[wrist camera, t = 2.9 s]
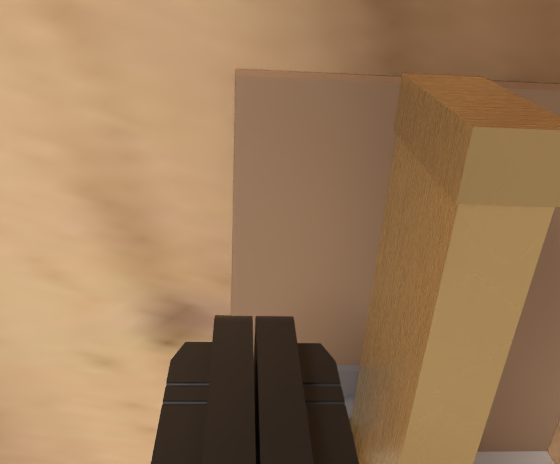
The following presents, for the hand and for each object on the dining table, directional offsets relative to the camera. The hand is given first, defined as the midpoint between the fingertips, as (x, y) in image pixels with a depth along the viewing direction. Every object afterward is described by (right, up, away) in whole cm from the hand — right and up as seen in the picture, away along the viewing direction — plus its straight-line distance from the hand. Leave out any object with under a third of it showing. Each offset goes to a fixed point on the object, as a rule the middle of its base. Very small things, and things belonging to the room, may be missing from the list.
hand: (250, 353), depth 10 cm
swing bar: (+4, 0, +6) cm, 7 cm away
